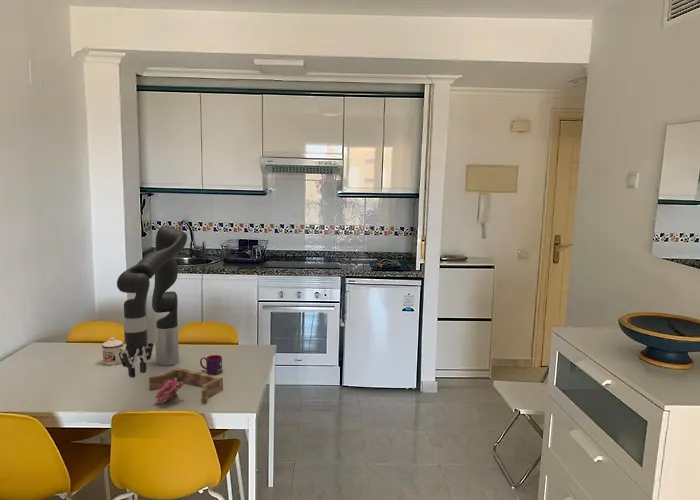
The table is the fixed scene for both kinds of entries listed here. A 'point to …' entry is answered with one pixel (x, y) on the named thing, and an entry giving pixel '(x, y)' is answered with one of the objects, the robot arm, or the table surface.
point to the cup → (213, 364)
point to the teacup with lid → (112, 351)
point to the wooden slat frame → (189, 381)
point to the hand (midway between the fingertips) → (137, 374)
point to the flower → (169, 391)
